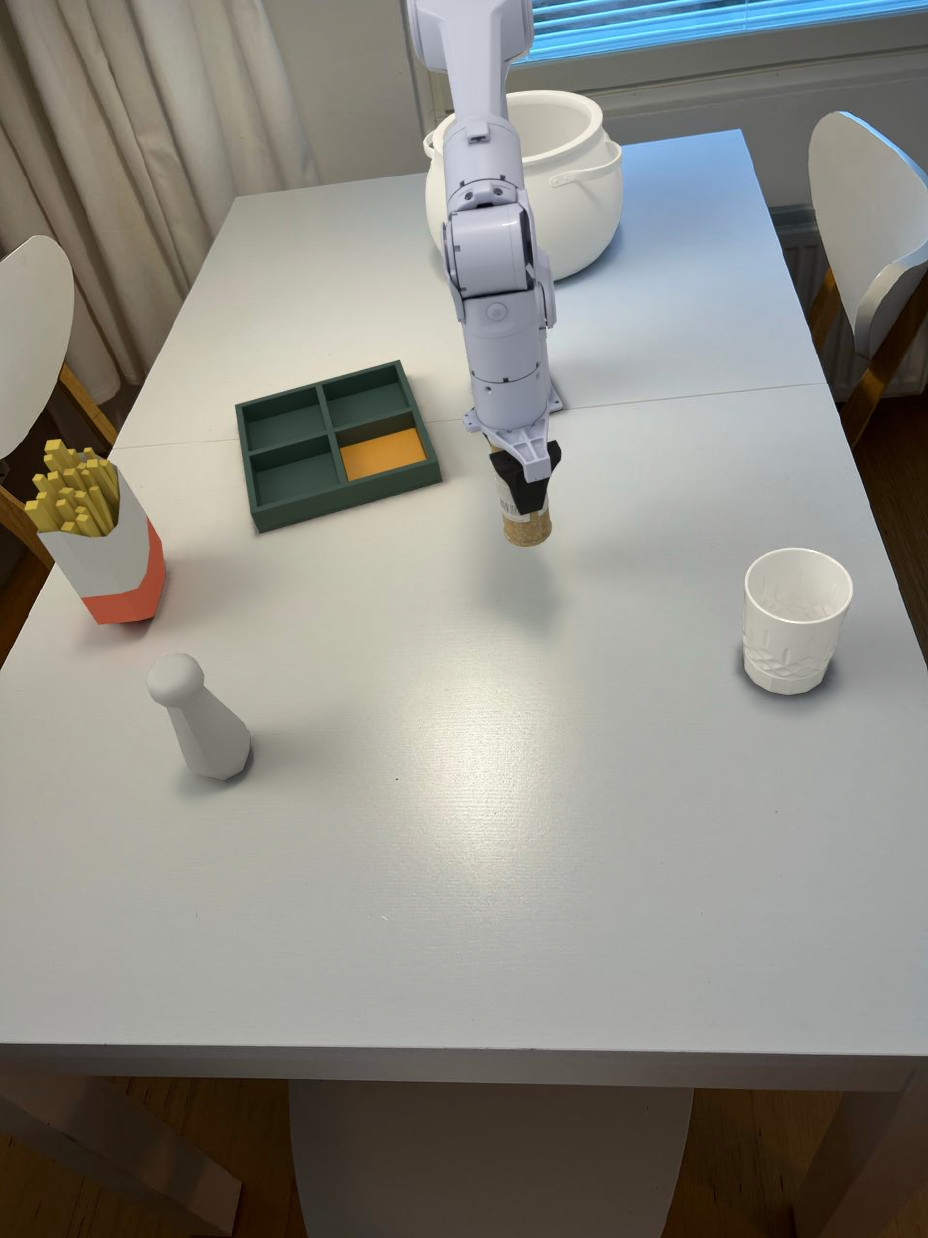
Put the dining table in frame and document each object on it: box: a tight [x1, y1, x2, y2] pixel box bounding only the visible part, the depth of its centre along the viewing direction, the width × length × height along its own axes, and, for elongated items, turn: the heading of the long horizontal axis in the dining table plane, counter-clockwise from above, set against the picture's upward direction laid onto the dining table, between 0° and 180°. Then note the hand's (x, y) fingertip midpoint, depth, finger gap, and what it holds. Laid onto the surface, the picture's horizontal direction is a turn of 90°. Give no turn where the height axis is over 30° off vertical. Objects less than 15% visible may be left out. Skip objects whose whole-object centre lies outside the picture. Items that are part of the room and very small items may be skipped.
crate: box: [234, 359, 443, 534], centre depth 106 cm, size 20×20×3 cm
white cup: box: [742, 547, 854, 696], centre depth 76 cm, size 8×8×10 cm
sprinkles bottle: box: [487, 436, 553, 548], centre depth 82 cm, size 5×5×13 cm
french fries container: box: [24, 438, 166, 626], centre depth 90 cm, size 5×11×18 cm, turn 0°
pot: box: [422, 89, 624, 282], centre depth 125 cm, size 29×26×16 cm
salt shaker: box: [144, 652, 252, 782], centre depth 77 cm, size 6×6×13 cm
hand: (522, 492), depth 83 cm, fingers closed on sprinkles bottle, 4 cm apart
